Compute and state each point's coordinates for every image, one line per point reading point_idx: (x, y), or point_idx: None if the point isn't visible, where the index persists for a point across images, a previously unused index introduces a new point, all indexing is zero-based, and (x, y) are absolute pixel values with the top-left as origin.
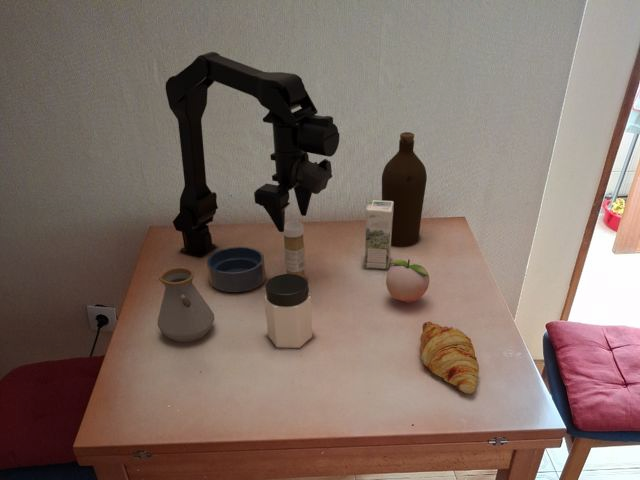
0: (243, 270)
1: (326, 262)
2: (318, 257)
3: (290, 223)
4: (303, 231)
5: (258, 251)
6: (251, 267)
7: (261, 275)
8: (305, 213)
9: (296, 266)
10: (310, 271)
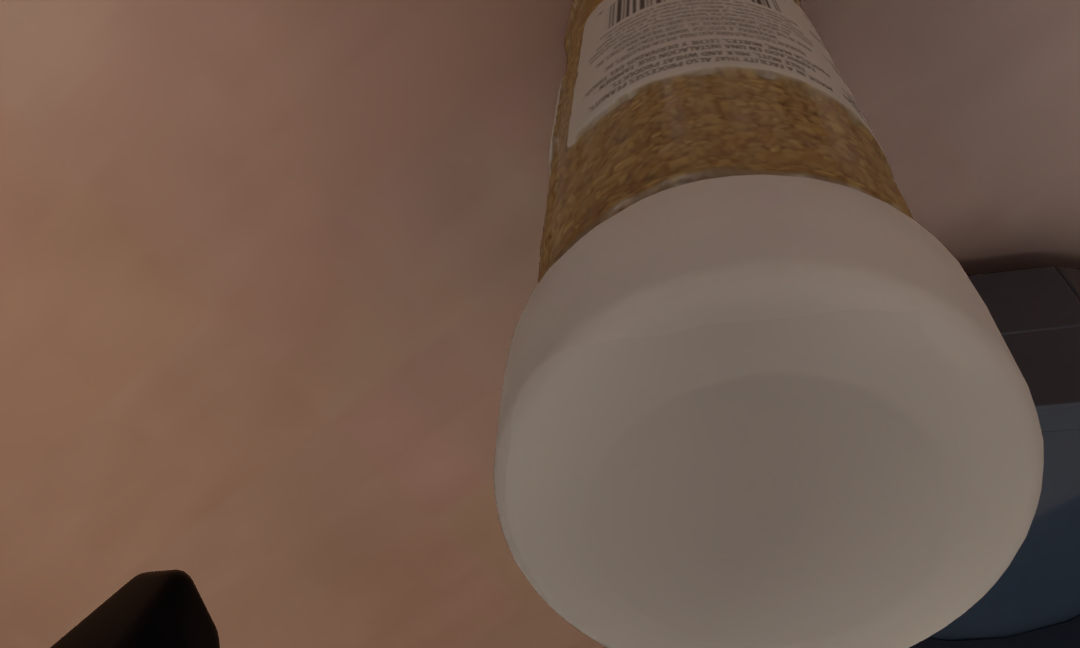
0: None
1: (119, 34)
2: (116, 179)
3: (726, 597)
4: (647, 220)
5: None
6: None
7: (1007, 323)
8: (151, 609)
9: (804, 20)
10: (403, 48)
